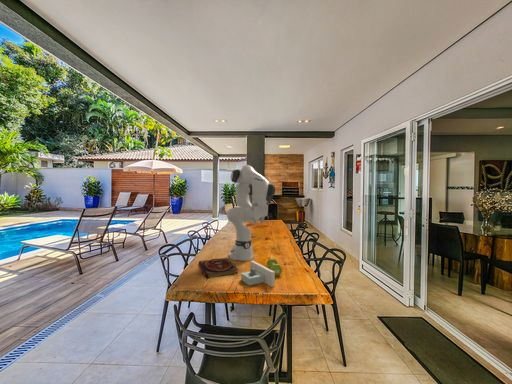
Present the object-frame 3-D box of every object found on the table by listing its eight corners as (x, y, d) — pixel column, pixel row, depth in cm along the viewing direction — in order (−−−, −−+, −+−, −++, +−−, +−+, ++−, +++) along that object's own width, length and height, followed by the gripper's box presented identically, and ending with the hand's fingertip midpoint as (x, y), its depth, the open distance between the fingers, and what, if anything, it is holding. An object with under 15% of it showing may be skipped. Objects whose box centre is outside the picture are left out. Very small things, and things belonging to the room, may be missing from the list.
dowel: (249, 281, 147) (249, 269, 147) (251, 280, 149) (251, 268, 149) (253, 282, 145) (253, 270, 145) (256, 280, 148) (256, 269, 148)
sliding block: (241, 279, 149) (241, 273, 149) (255, 276, 154) (255, 270, 154) (249, 285, 141) (249, 278, 140) (264, 282, 146) (264, 275, 146)
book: (198, 265, 179) (198, 258, 179) (227, 261, 187) (227, 255, 187) (205, 279, 153) (205, 271, 153) (239, 274, 160) (238, 266, 160)
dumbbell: (266, 268, 172) (266, 257, 171) (277, 268, 172) (277, 257, 172) (269, 277, 155) (270, 265, 155) (282, 276, 156) (282, 265, 156)
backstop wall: (250, 273, 160) (250, 261, 160) (253, 273, 161) (253, 260, 161) (271, 286, 140) (271, 272, 140) (274, 286, 141) (274, 271, 141)
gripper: (256, 204, 152) (256, 226, 152) (269, 202, 170) (269, 222, 170) (247, 203, 154) (246, 226, 155) (261, 201, 173) (261, 222, 173)
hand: (258, 224), depth 163 cm, fingers open, 8 cm apart
